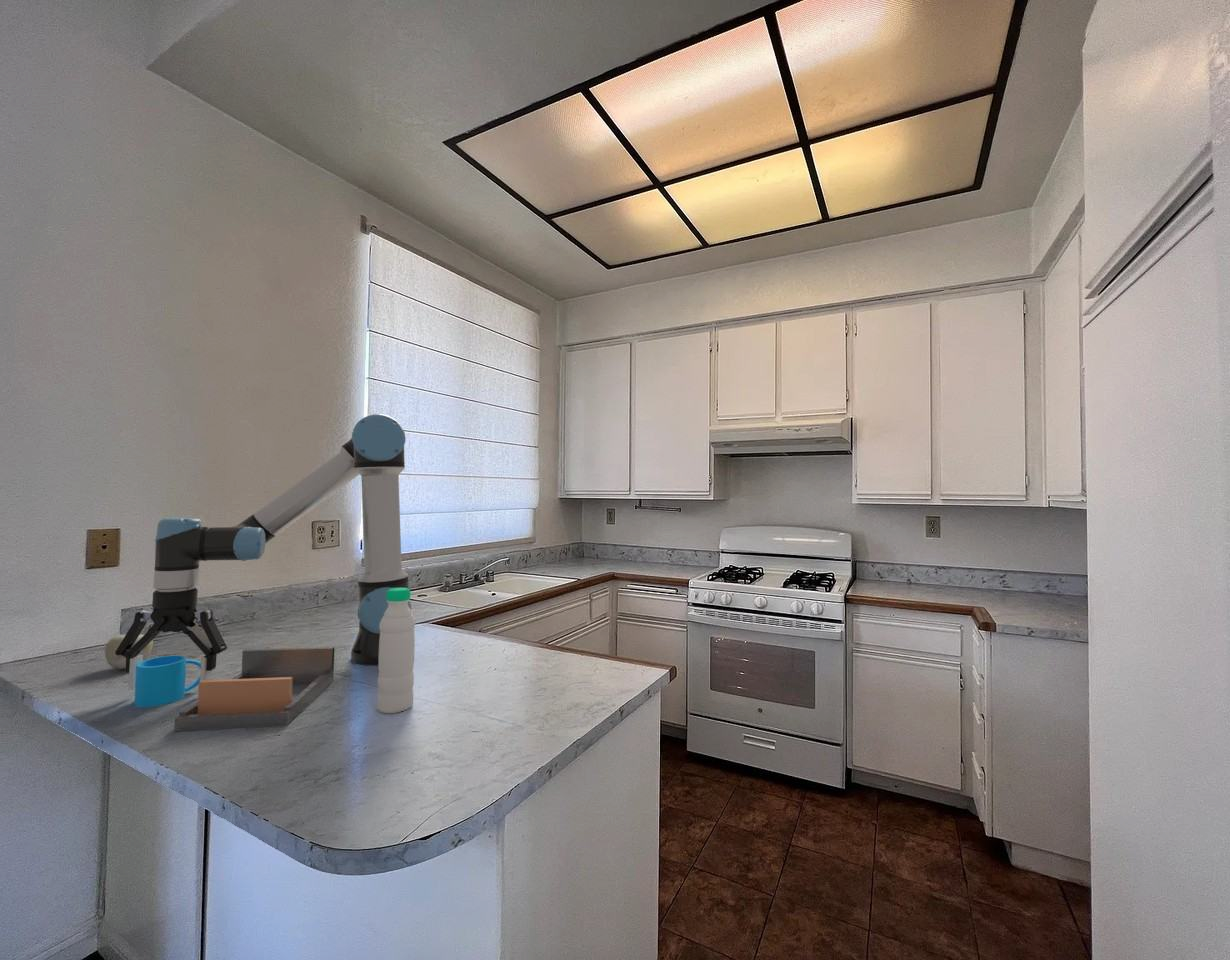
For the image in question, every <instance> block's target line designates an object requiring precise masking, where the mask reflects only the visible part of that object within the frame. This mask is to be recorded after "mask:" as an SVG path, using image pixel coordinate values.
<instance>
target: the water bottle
mask: <svg viewBox="0 0 1230 960" xmlns="http://www.w3.org/2000/svg"><path fill="white" fill-rule="evenodd" d="M386 599H387V602H388V608H387V610H386V611H385V613H384V616H383V617H382V619H381V621H380V625H379V628H380V639H379V665H378V678H377V691H378V692H377V699H376V709H377V710H378V711H379V712H380V713H382V714H387V713H389V714H390V713H392V714H398V713H397V712H399V713H402V712H401V711H403V712H405V711H407V710H409V709H411V707H412V706H413V704H414V690H413V689H414V687H413V686H414V681H415V677H414V676H415V675H414V672H413V671H414V664H415V648H416V646H415V645H416V644H415V643H416V642H415V641H416V640H415V639H416V637H415V627H416V619H415V617H414V615H413V613H412V609H411V610H410V608H409V607H408V602H409V601H410V602H411V600H410V599H411V590H410V588H409V589H408V588H392V589H389V590H388V591H387V593H386ZM408 708H409V709H408ZM406 709H407V710H406ZM404 710H405V711H404ZM389 714H388V715H389ZM390 715H391V714H390Z"/></svg>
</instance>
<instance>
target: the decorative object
mask: <svg viewBox="0 0 1230 960" xmlns="http://www.w3.org/2000/svg"><path fill="white" fill-rule="evenodd" d="M125 635H126V634H118V635H115V636H113V637H111V639H109V640H108V642H107V644H106V646H105V650H104V651H105V652H104V655H105V656H104V657H105V660H106V662H107V664H108V665H109V666H110V667H111V668H113V669H115V670H118V669H119V670H121V669H126V658H125V657H124V656H122V655H116V654H115V652H116V650H117V648H118V647H119V645H120V643H121V642H122V640H123V639H124V637H125ZM144 635H145V634H140V635H139V636H138V638H137V639H136V641H135V643H134V644H133V646H134V645H135V644H136V643H137V642H138V641H139V640H140V639H141V638H142V637H143V636H144ZM133 646H132V647H133ZM153 647H154V639H153V640H152V641H151V642H150V643H149V644H148V645H147V646H146V647H145V648H144V649H143V650H142V651H141V652H140V654H138V655H143V661H144V660H148V657H149V656H150V654H151V652H152V651H153ZM138 655H137V656H138Z"/></svg>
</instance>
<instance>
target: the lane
mask: <svg viewBox="0 0 1230 960" xmlns="http://www.w3.org/2000/svg"><path fill="white" fill-rule="evenodd" d="M241 659H242V660H241V672H240V673H239V674H237V675H236V676H234V677H233V678H232V679H253V678H280V677H293V680H292V685H298V684H299V685H300V684H302V683H303V684H309V685H308V686H306V687H305V688H304V689H303V690H302V691H301V692H300V693H299V694H297V695H296V696H295V697H294V698H292V701H291V702H290V703H289V704H288V705H286V706H285V707H284V710H279V711H258V712H237V713H215V714H198V700H197V701H195V702H193V703H192V704H191V705H188V706H187V707H186V708H184V709H182V710H181V711H179V712H178V715H177V716H175V717H174V730H173V731H174V732H187V731H188V732H189V731H209V730H225V729H226V730H228V729H245V728H246V729H248V728H267V727H270V728H271V727H283V726H284V727H285V726H288V725H290V724H291V723H292V722H293V721H294V720H295V719H296V718H298V716H299V715H300V714H301V713H302V712H303V711H304V710H305V709H306V708H307V707H308V706H309V705H310V704H311V703H312V702H313V701H314V700H315V699H316V698H317V697H318V696H319V695H320V694H321V693H322V692H323V691H324V690H326V688H328V687H329V685H331V683H333V682H334V674H335V646H323V647H321V646H320V647H290V648H289V647H287V648H285V647H284V648H283V647H282V648H256V649H254V648H253V649H252V648H248V649H243V650H242V657H241Z"/></svg>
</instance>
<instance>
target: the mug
mask: <svg viewBox="0 0 1230 960" xmlns="http://www.w3.org/2000/svg"><path fill="white" fill-rule="evenodd" d="M187 664H192V665H195V666H197V667H198V668H199V669H200V671H201V661H198V660H196V659H187V657H186V656H185V655H166V656H165V655H164V656H159V657H152V658H147V659H146V660H144V661H142V662H139V663H138V664H136V682H135V689H134V706H135V707H140V708H151V707H159V706H164V705H168V704H171V703H174V702H177V701H179V700H182V699H183V698H184V697H185V692H188V691H190V690H192V689H194V688H196V687H197V686H199V682H200V676H199V677H198V678H197V680H196V681H195V682H193V683H192V684H191V685H188V686H187V687H186V672H187V671H186V668H187V667H186V666H187Z"/></svg>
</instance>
